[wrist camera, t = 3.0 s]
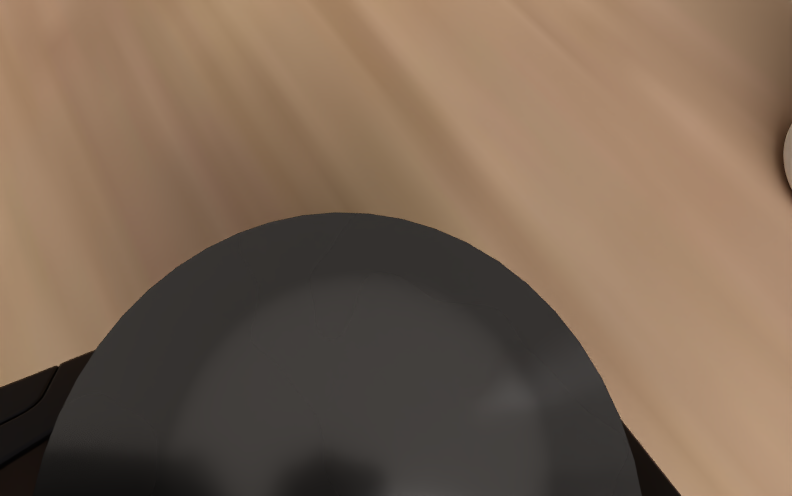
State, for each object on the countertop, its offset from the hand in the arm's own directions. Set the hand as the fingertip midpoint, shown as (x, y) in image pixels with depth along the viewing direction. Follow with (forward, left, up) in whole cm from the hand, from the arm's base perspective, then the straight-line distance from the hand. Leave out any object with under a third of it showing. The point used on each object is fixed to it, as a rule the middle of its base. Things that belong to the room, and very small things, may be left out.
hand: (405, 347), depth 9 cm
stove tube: (-1, -1, -7) cm, 7 cm away
